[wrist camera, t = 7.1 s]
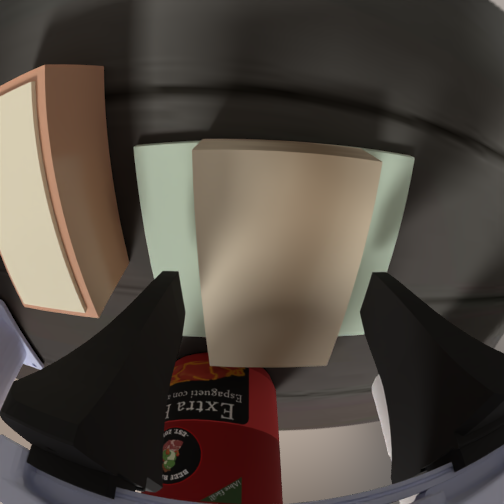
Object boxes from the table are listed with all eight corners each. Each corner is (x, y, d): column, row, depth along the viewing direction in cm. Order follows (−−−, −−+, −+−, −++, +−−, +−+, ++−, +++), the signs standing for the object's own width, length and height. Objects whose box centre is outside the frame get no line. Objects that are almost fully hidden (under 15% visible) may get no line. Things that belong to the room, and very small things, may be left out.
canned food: (244, 335, 15) (242, 539, 6) (291, 396, 19) (302, 533, 10) (141, 361, 17) (105, 514, 8) (203, 413, 21) (194, 532, 12)
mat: (169, 329, 15) (168, 334, 15) (137, 144, 10) (133, 146, 10) (362, 329, 15) (363, 334, 15) (410, 155, 10) (414, 157, 10)
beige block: (213, 336, 15) (209, 365, 13) (202, 139, 9) (191, 150, 8) (320, 336, 15) (326, 365, 13) (360, 148, 10) (382, 162, 8)
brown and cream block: (60, 260, 13) (22, 309, 9) (27, 91, 8) (-36, 107, 5) (129, 262, 13) (97, 321, 9) (104, 66, 8) (40, 64, 5)
